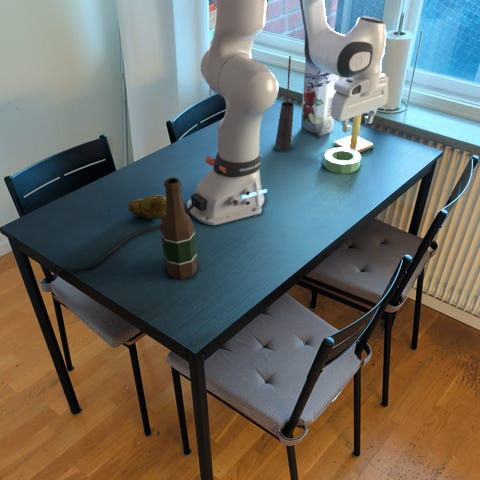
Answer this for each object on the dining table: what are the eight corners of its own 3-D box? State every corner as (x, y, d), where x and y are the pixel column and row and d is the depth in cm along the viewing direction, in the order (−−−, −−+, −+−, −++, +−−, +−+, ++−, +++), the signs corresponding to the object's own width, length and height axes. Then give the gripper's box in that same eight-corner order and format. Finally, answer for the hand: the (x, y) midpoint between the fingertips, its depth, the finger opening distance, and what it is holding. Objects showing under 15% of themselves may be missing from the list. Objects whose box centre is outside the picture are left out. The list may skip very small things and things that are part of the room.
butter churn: (294, 157, 169) (300, 66, 150) (265, 153, 171) (268, 62, 152) (300, 145, 176) (307, 55, 156) (273, 141, 178) (276, 52, 158)
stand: (353, 155, 170) (358, 117, 162) (333, 144, 176) (338, 108, 167) (372, 147, 174) (379, 110, 165) (353, 137, 179) (358, 101, 171)
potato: (151, 204, 150) (147, 179, 144) (179, 222, 143) (176, 196, 137) (126, 215, 146) (121, 189, 140) (154, 235, 139) (150, 208, 133)
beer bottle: (198, 259, 131) (191, 171, 114) (197, 279, 125) (190, 189, 109) (167, 260, 131) (155, 172, 114) (164, 280, 125) (152, 190, 109)
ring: (340, 177, 160) (341, 167, 158) (316, 162, 167) (316, 154, 165) (366, 166, 165) (368, 157, 163) (342, 153, 171) (343, 144, 169)
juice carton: (314, 122, 188) (322, 40, 170) (336, 132, 182) (346, 48, 164) (296, 129, 184) (302, 46, 166) (318, 139, 178) (326, 54, 160)
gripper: (381, 69, 156) (373, 114, 166) (329, 85, 148) (325, 132, 158) (397, 75, 153) (388, 121, 162) (345, 92, 144) (340, 140, 154)
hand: (357, 127), depth 160 cm, fingers open, 8 cm apart
